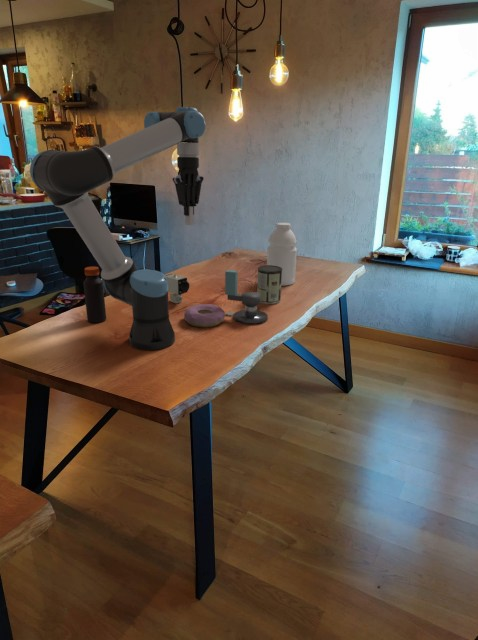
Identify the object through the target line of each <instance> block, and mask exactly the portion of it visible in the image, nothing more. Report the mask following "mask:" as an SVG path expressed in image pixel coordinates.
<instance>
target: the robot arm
mask: <svg viewBox="0 0 478 640" xmlns="http://www.w3.org/2000/svg"><path fill="white" fill-rule="evenodd" d="M205 132H206V119H205V117H204V115H203V114H202V113H201V112H199V111H198V109H197V108H196V107H192V106H190V107H189V106H188V107H187V106H179V107H176V109H175V111H157V110H156V111H149V112H147V113H146V114H145V116H144V119H143V129H140V130H138V131H136V132H134V133H131V134H128V135H127V136H125V137H122V138H120V139H118V140H114V141H113V142H111V143H108V144H107V145H104V146H101V147H98V146H96V145H94V146H92V147H89V148H86V149H83V150H82V149H81V150H78V151H77V150H72V151H71V150H70V151H66V150H65V151H64V150H57V149H47V150H43V151H39V153H37V154H36V155H35V156H34V157H33V159H32V160H31V163H30V167H29V174H30V178H31V180H32V182H33V183H34V184H35V186H36V187H37V188H38V189H40V190H41V191H42V192H45V194H46V195H47V196H48V198H49V200H50V202H51V203H52V204H53V206H55V207H56V208H61V209H62V210H63V212H64V213H65V215H66V216H67V218H68V219H69V221H70V223H71V224H72V226H73V227H74V228H75V230H76V232H77V233H78V234H79V236H80V238H81V240H83V242H84V243H85V245H86V247H87V248H88V250H89V252H90V253H91V254H92V256H93V258H94V260H95V261H96V262H97V264H98V266H99V268H100V269H101V272H100V277H101V279H102V281H103V289H105V290H104V291H106V293H107V294H109V295H110V296H111V297H112V298H113V299H115V300H118V301H121V302H122V303H124V304H127V305H129V306H131V308H132V309H131V310H132V323H131V324H132V325H131V328H130V331H129V335H128V338H129V340H128V341H129V345H130V346H131V347H133V348H134V349H137V350H143V351H158V350H162V349H166V348H168V347H171V346H172V345H173V344H175V342H176V334H175V331H174V329H173V326H172V323H171V320H170V315H169V313H170V312H169V308H170V307H169V292H168V283H167V278H166V275H165V274H164V273H163V272H161V271H159V270H155V269H153V270H152V269H146V268H145V269H143V268H142V269H138V267H137V265H136V264H135V262H134V260H133V259H132V258H131V257H130V256H126V255H124V253H123V251H122V249H121V247H120V246H119V244H118V242H117V241H116V239H115V237H114V236H113V233H112V232H111V231H110V229H109V227H108V226H107V223H106V222H105V221H104V219H103V217H102V216H101V214H100V213H99V211H98V209H97V206H96V205H95V204H94V202H93V200H92V198H91V197H90V196H89V193H90V192H91V191H93V190H95V189H96V188H99V187H102V186H103V185H105V184H106V183H109V182H111V181H112V180H113V179H114V176H115V175H116V174H118V173H120V172H122V171H124V170H127V169H128V168H131V167H132V166H135V165H137V164H139V163H141V162H143V161H144V160H147V159H149V158H151V157H153V156H155V155H157V154H159V153H161V152H163V151H166V150H168V149H170V148H172V147H173V146H176V155H178V156H177V157H176V158H177V159H176V160H177V162H176V163H177V164H176V166H177V169H178V171H177V175H176V177H173V178H172V182H173V183H174V187H175V191H176V195H177V200H178V201H177V202H178V204H179V205H180V206H182V207H183V215H184V219H185V220H184V221H185V222H184V224H185V225H188V226H194V215H195V207H197V205H198V204H199V203H200V197H201V189H202V183H203V181H204V179H205V178H204V176H201V175H200V174H199V171H198V169H199V168H200V167H199V166H200V160H199V153H200V151H199V150H200V147H199V138H201V137H202V136H203V135H204V134H205Z"/></svg>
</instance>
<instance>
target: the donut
mask: <svg viewBox="0 0 478 640" xmlns="http://www.w3.org/2000/svg"><path fill="white" fill-rule="evenodd" d="M225 314H226V313H225V310H224V309H223V308H221V307H220V306H219V305H215V304H212V303H211V304H210V303H205V304H204V303H199V304H195V305H190V306H189V307H188V308H186V309H185V312H184V314H183V315H184V320H185V321H186V322H187V323H188V324H189V325H191V326H193V327H200V328H210V327H216V326H218V325H219V324H221V323H222V322H224V319H225V318H226V315H225Z"/></svg>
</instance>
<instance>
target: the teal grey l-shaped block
mask: <svg viewBox="0 0 478 640" xmlns="http://www.w3.org/2000/svg"><path fill="white" fill-rule="evenodd" d="M238 271H239V270H231V269H227V270H225V273H224V275H225V276H224V277H225V280H224V285H225V286H224V288H225V289H224V291H225V292H224V293H225V295H227V301H235V302H241V304H242V305H244V306H245V305H247V306H256V305H257V306H259V305H261V303H260V299H261V295H260V294H258V293H257V292H254V291H253V292H252V291H251V292H248V291H247V292H243V293H238V273H239V272H238Z"/></svg>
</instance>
